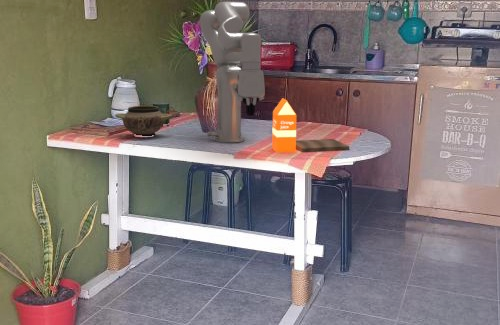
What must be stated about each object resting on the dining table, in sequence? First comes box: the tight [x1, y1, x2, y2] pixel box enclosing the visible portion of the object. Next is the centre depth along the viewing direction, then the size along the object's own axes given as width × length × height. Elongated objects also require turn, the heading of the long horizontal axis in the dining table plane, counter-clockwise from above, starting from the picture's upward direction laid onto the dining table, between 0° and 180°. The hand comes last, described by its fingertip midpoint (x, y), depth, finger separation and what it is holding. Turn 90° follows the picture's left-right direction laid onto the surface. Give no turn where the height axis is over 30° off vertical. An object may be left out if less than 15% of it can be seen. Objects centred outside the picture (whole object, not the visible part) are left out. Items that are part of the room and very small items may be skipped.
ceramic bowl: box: [114, 105, 173, 136], centre depth 259 cm, size 24×18×15 cm
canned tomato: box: [152, 101, 171, 124], centre depth 288 cm, size 8×8×11 cm
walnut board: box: [296, 138, 350, 153], centre depth 241 cm, size 20×16×2 cm
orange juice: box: [271, 98, 297, 153], centre depth 233 cm, size 8×9×20 cm
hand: (250, 115), depth 228 cm, fingers closed
